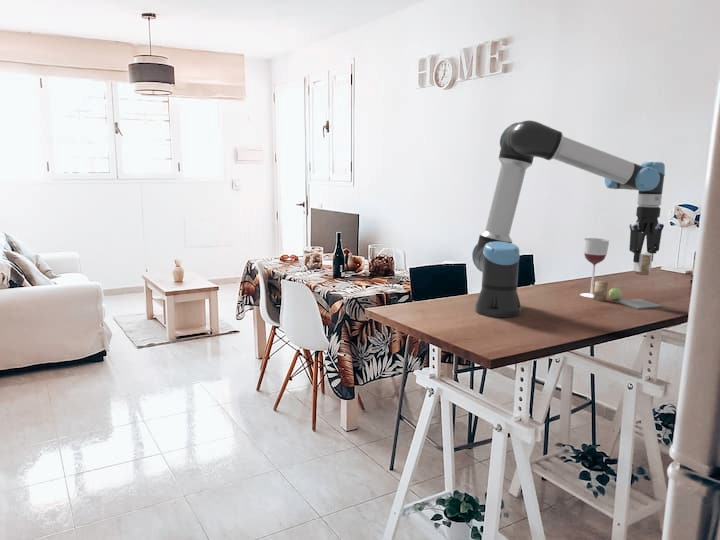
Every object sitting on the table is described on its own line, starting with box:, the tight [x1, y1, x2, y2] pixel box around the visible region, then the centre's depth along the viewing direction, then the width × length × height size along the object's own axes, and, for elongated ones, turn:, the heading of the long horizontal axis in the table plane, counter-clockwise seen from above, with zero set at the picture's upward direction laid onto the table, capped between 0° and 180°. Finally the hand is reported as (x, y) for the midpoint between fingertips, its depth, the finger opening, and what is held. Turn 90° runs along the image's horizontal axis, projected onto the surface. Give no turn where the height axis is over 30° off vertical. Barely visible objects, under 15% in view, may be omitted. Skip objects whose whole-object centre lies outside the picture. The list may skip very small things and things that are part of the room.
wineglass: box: [579, 237, 610, 299], centre depth 218 cm, size 9×10×22 cm
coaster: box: [614, 298, 663, 310], centre depth 206 cm, size 11×11×1 cm
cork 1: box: [593, 280, 609, 302], centre depth 212 cm, size 4×4×7 cm
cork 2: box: [634, 253, 651, 276], centre depth 203 cm, size 4×4×7 cm
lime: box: [608, 287, 623, 301], centre depth 213 cm, size 5×5×5 cm
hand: (641, 270), depth 204 cm, fingers closed on cork 2, 4 cm apart
